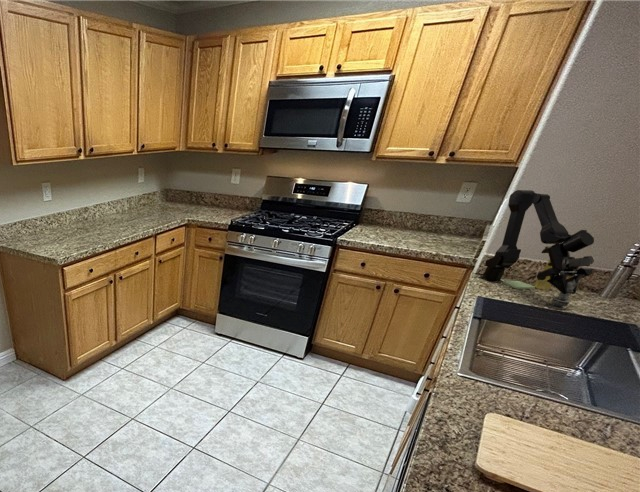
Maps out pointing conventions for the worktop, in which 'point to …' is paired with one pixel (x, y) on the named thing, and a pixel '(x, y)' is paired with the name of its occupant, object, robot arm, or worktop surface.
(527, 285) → the mat
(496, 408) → the worktop surface
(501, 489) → the worktop surface
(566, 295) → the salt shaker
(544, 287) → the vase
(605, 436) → the worktop surface
